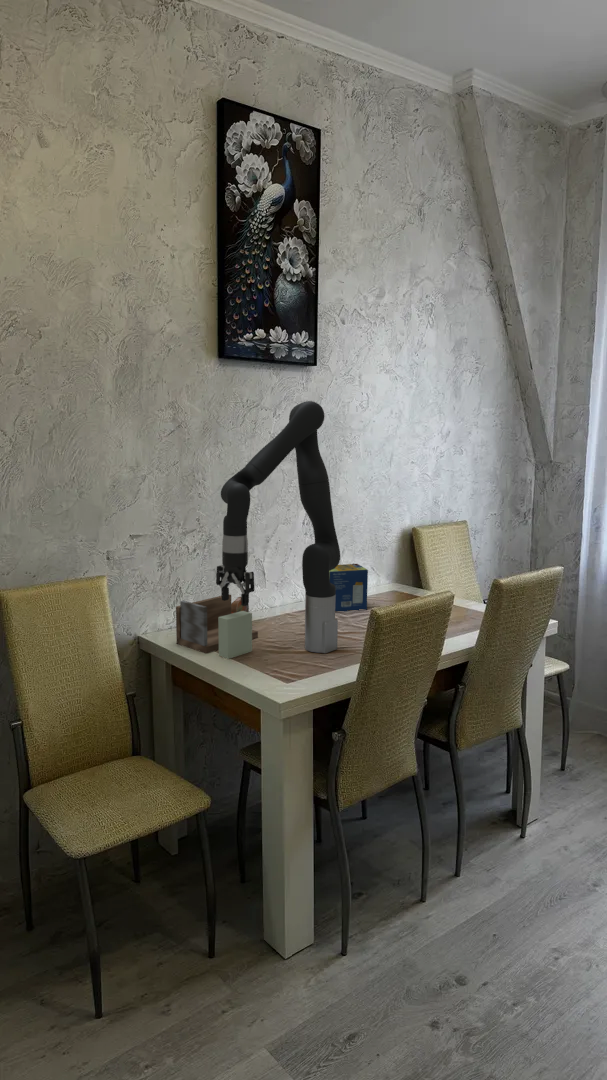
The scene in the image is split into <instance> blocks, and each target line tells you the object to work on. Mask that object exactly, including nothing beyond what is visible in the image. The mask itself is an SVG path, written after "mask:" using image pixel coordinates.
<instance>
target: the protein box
mask: <svg viewBox="0 0 607 1080" xmlns="http://www.w3.org/2000/svg"><path fill="white" fill-rule="evenodd" d="M368 573H369V569H367V568H365V567H363V566H362V565H360V564H359V563H348V564H347V563H346V564H338V566H337V567H336V568H334V569H332V570H330V571H329V579H330V583H332V584H334V585H335V588H336V597H335V611H344V612H348V611H347V610H358V611H360V610H359V609H366V610H365V611H367V609H368V580H369V578H368V577H369V574H368Z"/></svg>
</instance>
